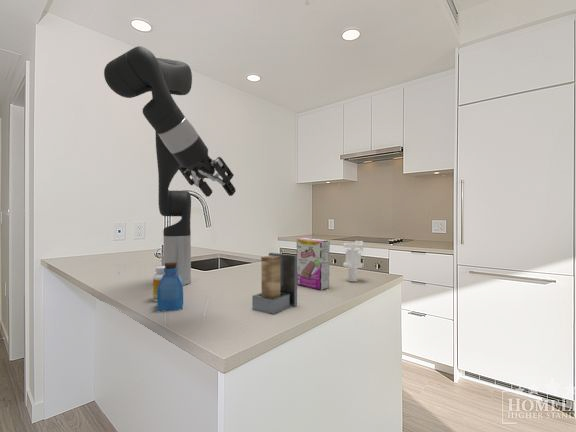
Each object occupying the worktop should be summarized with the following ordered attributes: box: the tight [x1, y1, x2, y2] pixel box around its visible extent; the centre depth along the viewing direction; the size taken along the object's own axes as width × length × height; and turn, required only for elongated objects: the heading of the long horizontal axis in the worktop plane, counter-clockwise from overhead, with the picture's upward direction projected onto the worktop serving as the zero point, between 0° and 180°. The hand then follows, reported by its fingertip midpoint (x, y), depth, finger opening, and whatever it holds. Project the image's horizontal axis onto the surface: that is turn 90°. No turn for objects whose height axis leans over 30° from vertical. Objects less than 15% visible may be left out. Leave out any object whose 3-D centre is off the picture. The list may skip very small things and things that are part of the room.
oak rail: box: [260, 255, 281, 299], centre depth 85 cm, size 4×4×13 cm
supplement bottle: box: [152, 265, 165, 302], centre depth 93 cm, size 5×5×10 cm
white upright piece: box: [342, 240, 364, 282], centre depth 118 cm, size 7×7×15 cm
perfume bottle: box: [156, 262, 184, 312], centre depth 86 cm, size 6×6×12 cm
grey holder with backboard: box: [251, 252, 298, 315], centre depth 86 cm, size 9×9×14 cm
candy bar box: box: [296, 237, 331, 291], centre depth 109 cm, size 11×5×16 cm, turn 47°
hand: (221, 194), depth 82 cm, fingers open, 8 cm apart
